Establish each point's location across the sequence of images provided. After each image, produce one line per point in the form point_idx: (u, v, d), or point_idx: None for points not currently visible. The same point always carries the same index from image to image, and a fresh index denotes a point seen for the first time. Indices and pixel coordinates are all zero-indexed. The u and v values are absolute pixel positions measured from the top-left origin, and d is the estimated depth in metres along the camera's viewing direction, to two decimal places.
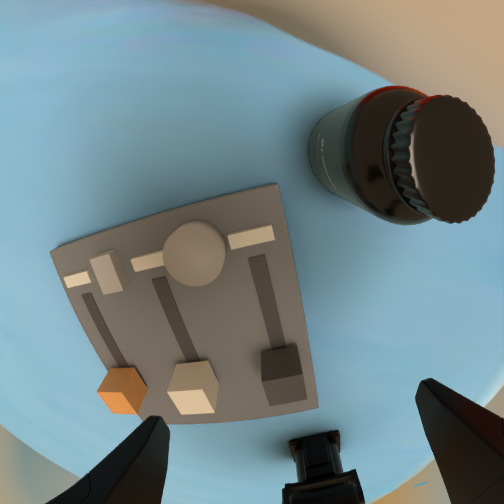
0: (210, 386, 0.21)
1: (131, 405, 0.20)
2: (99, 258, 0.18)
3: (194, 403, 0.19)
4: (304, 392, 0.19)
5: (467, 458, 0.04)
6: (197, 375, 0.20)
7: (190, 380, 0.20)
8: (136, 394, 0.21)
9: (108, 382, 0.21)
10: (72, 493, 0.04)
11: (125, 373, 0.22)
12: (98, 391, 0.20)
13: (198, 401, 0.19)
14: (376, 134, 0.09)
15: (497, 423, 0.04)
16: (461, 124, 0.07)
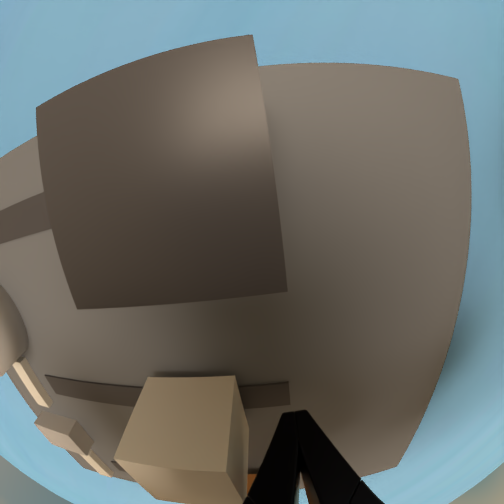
0: (170, 421, 0.06)
1: None
2: (44, 434, 0.10)
3: (184, 486, 0.05)
4: (171, 60, 0.02)
5: None
6: None
7: None
8: None
9: None
10: None
11: None
12: None
13: (171, 480, 0.05)
14: None
15: (351, 486, 0.04)
16: None
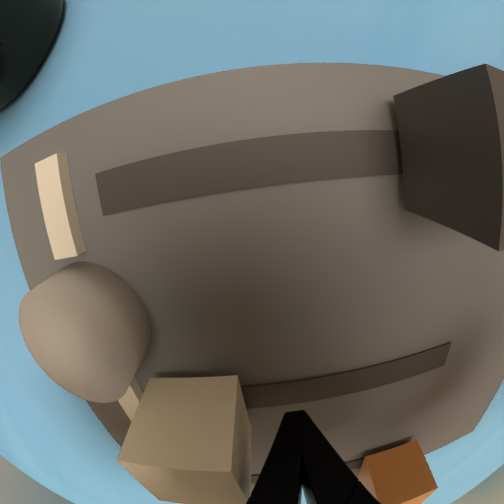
0: (174, 421, 0.06)
1: (415, 495, 0.07)
2: None
3: (188, 487, 0.05)
4: None
5: None
6: None
7: None
8: (407, 474, 0.08)
9: None
10: None
11: (366, 474, 0.09)
12: None
13: (175, 480, 0.05)
14: None
15: (348, 487, 0.04)
16: None
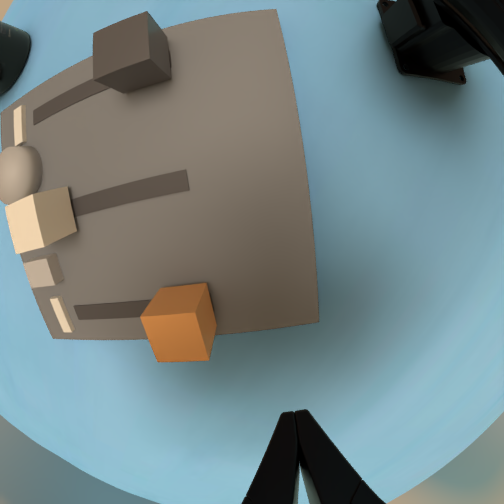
0: None
1: (172, 313, 0.13)
2: (28, 275, 0.16)
3: (22, 221, 0.12)
4: (129, 19, 0.08)
5: None
6: None
7: None
8: (179, 299, 0.14)
9: None
10: None
11: None
12: (157, 358, 0.14)
13: (19, 214, 0.11)
14: None
15: (352, 486, 0.04)
16: None
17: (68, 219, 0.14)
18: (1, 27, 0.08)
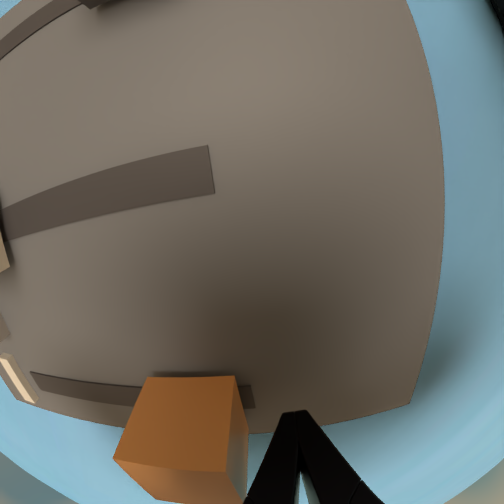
0: None
1: (176, 465, 0.05)
2: None
3: None
4: None
5: None
6: None
7: None
8: (185, 423, 0.06)
9: None
10: None
11: None
12: (155, 496, 0.06)
13: None
14: None
15: (351, 486, 0.04)
16: None
17: None
18: None
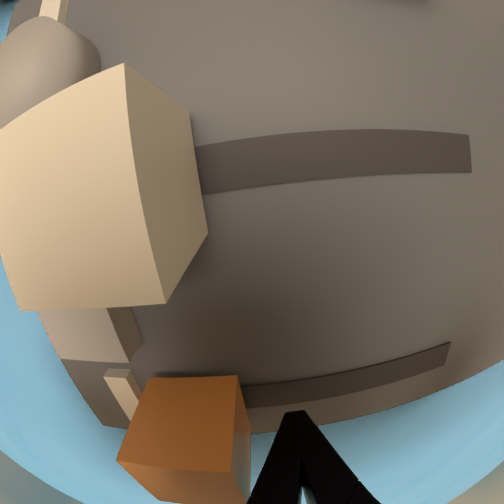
0: None
1: (181, 465, 0.05)
2: (49, 334, 0.07)
3: (46, 188, 0.03)
4: None
5: None
6: None
7: None
8: (189, 423, 0.06)
9: None
10: None
11: None
12: None
13: (32, 163, 0.03)
14: None
15: (348, 487, 0.04)
16: None
17: (196, 198, 0.06)
18: None
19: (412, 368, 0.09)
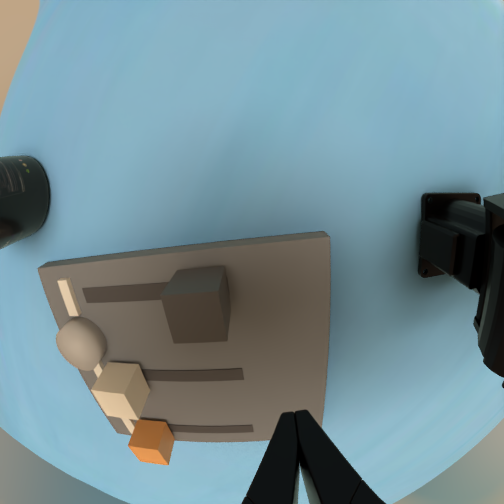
0: (112, 378, 0.17)
1: (145, 447, 0.18)
2: None
3: (114, 403, 0.16)
4: (200, 295, 0.13)
5: None
6: None
7: None
8: (149, 435, 0.20)
9: None
10: None
11: None
12: (140, 459, 0.19)
13: (109, 399, 0.16)
14: None
15: (351, 486, 0.04)
16: None
17: (144, 387, 0.19)
18: (10, 182, 0.12)
19: (235, 430, 0.22)
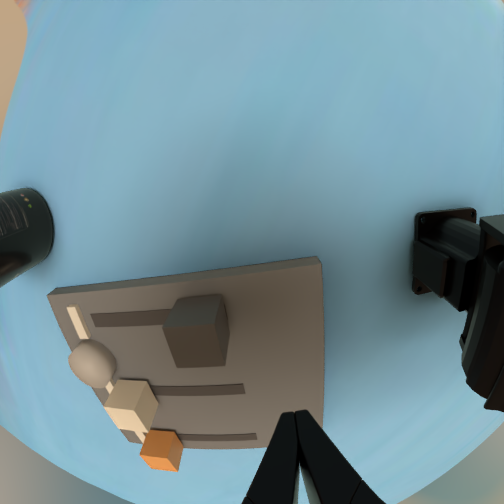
0: (122, 395, 0.19)
1: (156, 456, 0.19)
2: None
3: (125, 418, 0.17)
4: (198, 327, 0.14)
5: None
6: None
7: None
8: (159, 445, 0.21)
9: None
10: None
11: None
12: (151, 467, 0.20)
13: (121, 414, 0.17)
14: None
15: (352, 486, 0.04)
16: None
17: (153, 402, 0.20)
18: (14, 219, 0.13)
19: (240, 438, 0.23)
